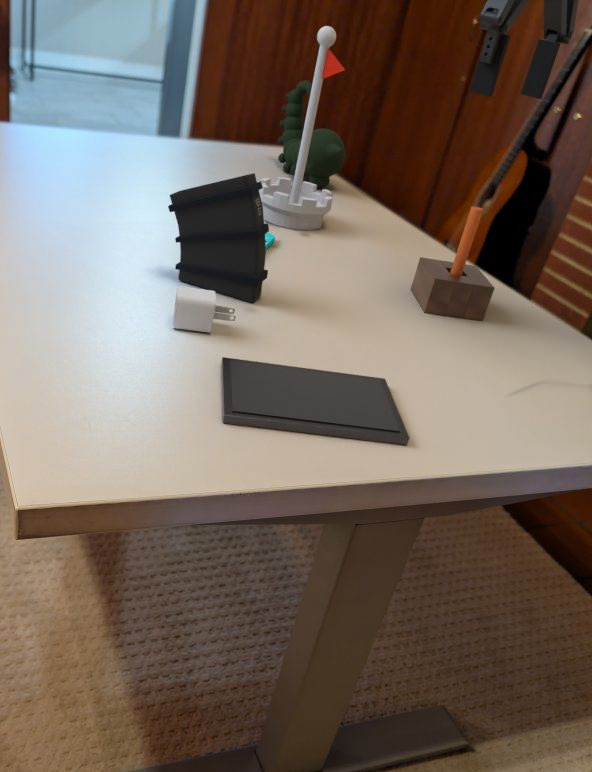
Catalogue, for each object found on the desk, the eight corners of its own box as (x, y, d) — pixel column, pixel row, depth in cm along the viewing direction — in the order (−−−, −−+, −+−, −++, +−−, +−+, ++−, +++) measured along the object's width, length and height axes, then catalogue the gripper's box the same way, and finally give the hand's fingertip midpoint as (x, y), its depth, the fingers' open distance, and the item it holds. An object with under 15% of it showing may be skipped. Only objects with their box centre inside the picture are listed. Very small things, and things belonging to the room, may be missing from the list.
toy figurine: (262, 169, 167) (312, 193, 147) (275, 75, 158) (330, 87, 138) (300, 172, 170) (354, 196, 151) (314, 80, 162) (374, 93, 142)
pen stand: (465, 297, 113) (476, 265, 110) (482, 321, 105) (495, 287, 103) (410, 289, 111) (420, 256, 109) (424, 312, 104) (435, 278, 102)
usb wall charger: (173, 315, 89) (177, 283, 87) (231, 323, 90) (236, 292, 88) (172, 330, 86) (177, 297, 83) (233, 338, 87) (238, 305, 84)
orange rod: (449, 303, 109) (481, 207, 102) (452, 307, 108) (484, 210, 100) (439, 302, 109) (470, 205, 102) (441, 306, 108) (473, 208, 100)
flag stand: (238, 208, 131) (269, 14, 115) (291, 205, 139) (327, 22, 124) (288, 234, 124) (329, 29, 108) (341, 229, 132) (387, 38, 116)
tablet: (383, 385, 83) (385, 377, 82) (407, 445, 73) (410, 436, 72) (220, 364, 80) (222, 355, 80) (222, 423, 70) (224, 414, 70)
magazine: (277, 299, 94) (248, 176, 88) (186, 314, 100) (152, 199, 94) (287, 291, 97) (259, 171, 91) (198, 305, 103) (166, 193, 97)
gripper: (586, -94, 94) (524, 90, 105) (490, -140, 77) (429, 85, 88) (645, -87, 90) (574, 104, 101) (557, -134, 73) (484, 100, 84)
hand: (506, 95), depth 95 cm, fingers open, 13 cm apart
